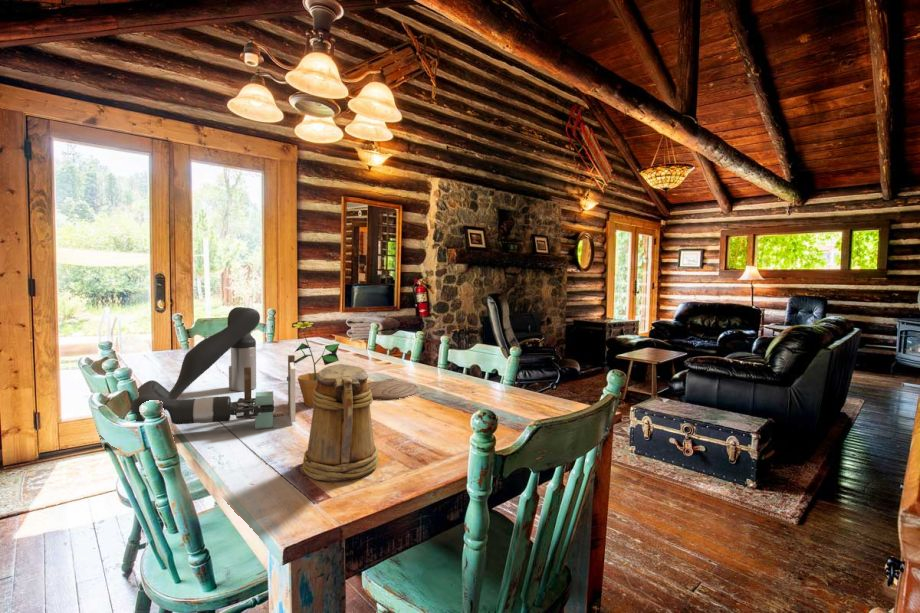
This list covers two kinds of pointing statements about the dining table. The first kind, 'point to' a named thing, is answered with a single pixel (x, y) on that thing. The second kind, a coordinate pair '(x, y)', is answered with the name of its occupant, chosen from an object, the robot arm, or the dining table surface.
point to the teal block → (266, 418)
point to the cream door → (292, 391)
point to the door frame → (248, 385)
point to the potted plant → (310, 380)
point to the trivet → (392, 389)
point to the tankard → (341, 426)
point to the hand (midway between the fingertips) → (273, 405)
